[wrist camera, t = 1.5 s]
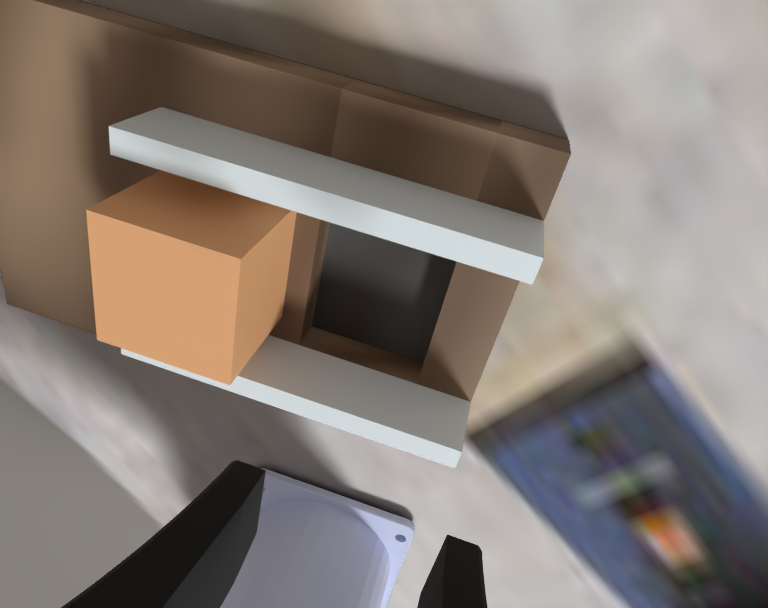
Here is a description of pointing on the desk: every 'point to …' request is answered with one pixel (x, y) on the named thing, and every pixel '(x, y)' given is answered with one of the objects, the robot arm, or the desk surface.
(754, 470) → the desk surface
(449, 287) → the trap deck
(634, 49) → the desk surface
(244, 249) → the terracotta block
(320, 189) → the white slats
